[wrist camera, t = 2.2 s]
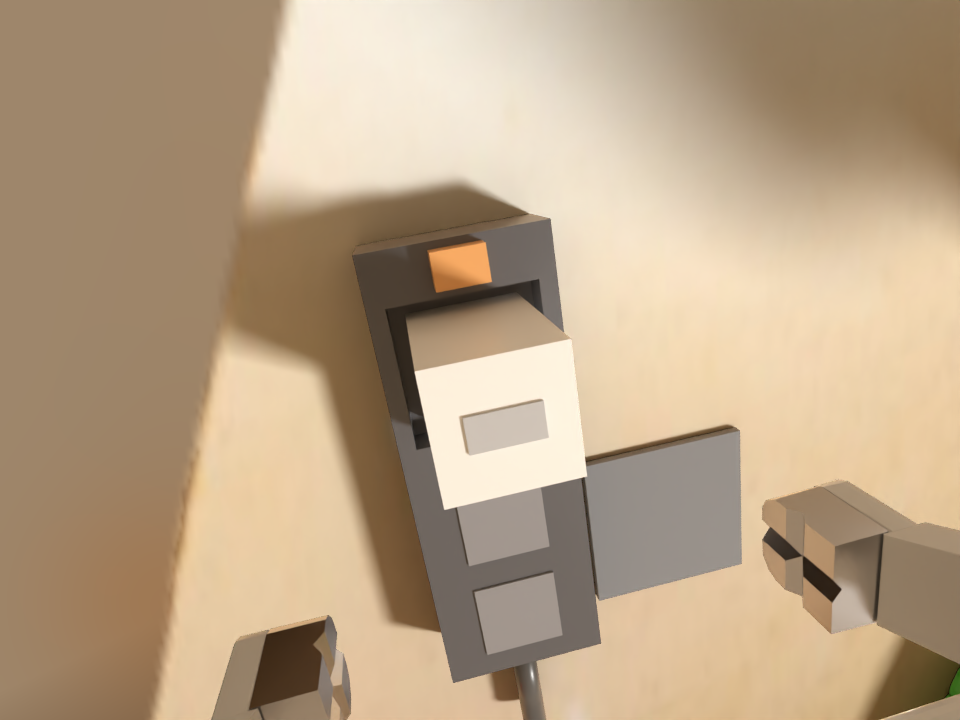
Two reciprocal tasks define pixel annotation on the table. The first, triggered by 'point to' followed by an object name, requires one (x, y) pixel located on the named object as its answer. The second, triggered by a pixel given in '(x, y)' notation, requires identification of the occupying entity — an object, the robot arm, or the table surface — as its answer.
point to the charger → (496, 398)
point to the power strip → (499, 521)
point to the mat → (664, 512)
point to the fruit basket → (955, 685)
